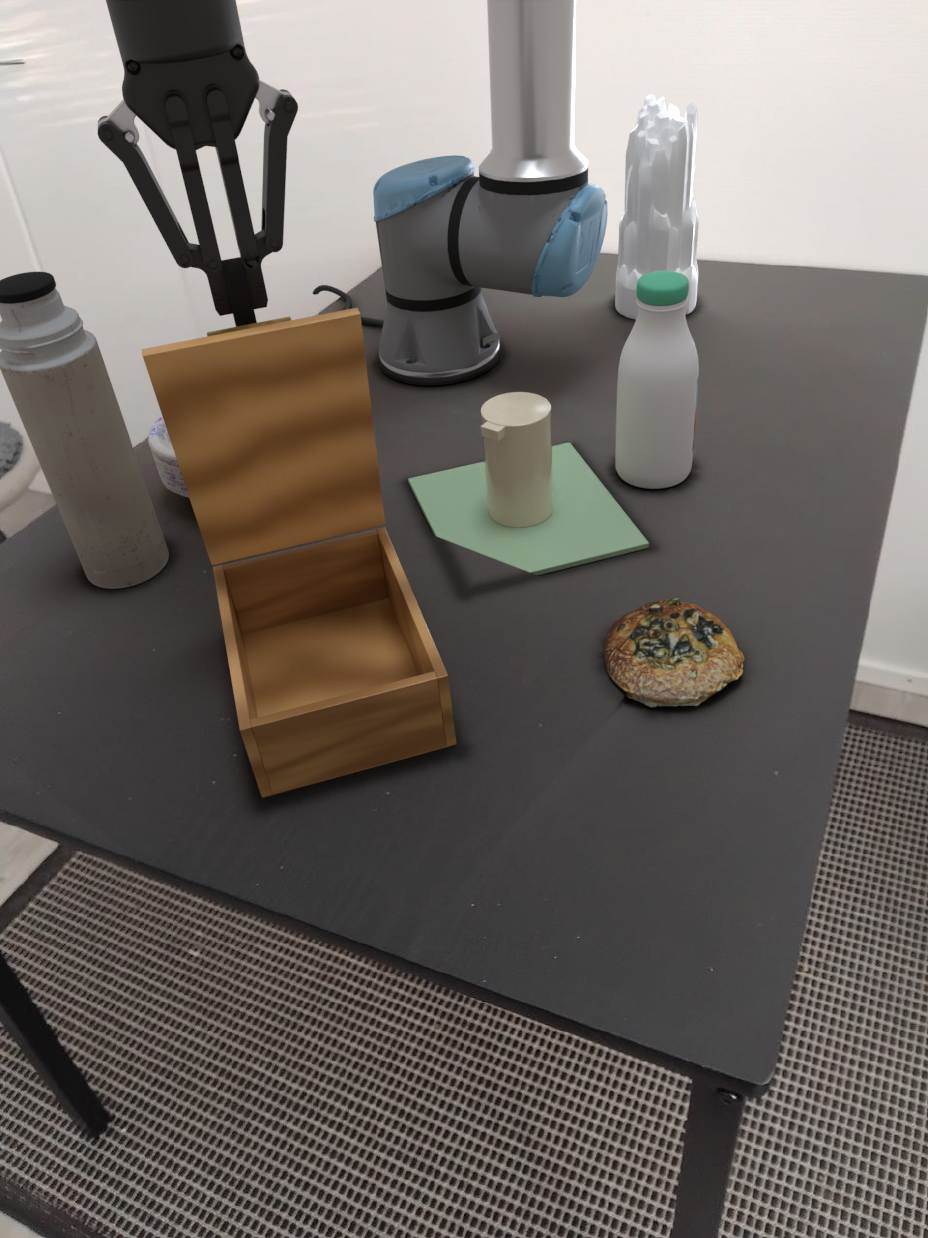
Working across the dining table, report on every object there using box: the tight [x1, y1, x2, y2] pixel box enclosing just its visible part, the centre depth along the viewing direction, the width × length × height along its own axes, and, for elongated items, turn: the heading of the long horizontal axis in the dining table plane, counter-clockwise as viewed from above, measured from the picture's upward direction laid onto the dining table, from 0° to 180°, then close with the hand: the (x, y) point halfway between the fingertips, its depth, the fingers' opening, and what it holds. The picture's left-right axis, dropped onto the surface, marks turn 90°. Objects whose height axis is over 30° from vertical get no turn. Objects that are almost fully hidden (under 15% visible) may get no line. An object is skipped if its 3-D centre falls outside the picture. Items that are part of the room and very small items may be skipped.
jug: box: [480, 391, 553, 528], centre depth 93 cm, size 9×6×11 cm
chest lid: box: [141, 307, 386, 566], centre depth 74 cm, size 20×15×5 cm
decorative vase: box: [614, 93, 699, 320], centre depth 124 cm, size 11×11×25 cm
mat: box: [407, 441, 650, 576], centre depth 96 cm, size 20×18×1 cm
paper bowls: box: [147, 415, 189, 498], centre depth 102 cm, size 15×15×8 cm
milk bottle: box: [614, 271, 700, 490], centre depth 94 cm, size 8×8×20 cm
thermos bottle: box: [0, 271, 170, 590], centre depth 86 cm, size 8×8×28 cm
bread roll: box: [603, 597, 746, 708], centre depth 77 cm, size 11×11×5 cm
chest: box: [212, 526, 457, 799], centre depth 77 cm, size 20×15×8 cm
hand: (252, 351), depth 73 cm, fingers closed
